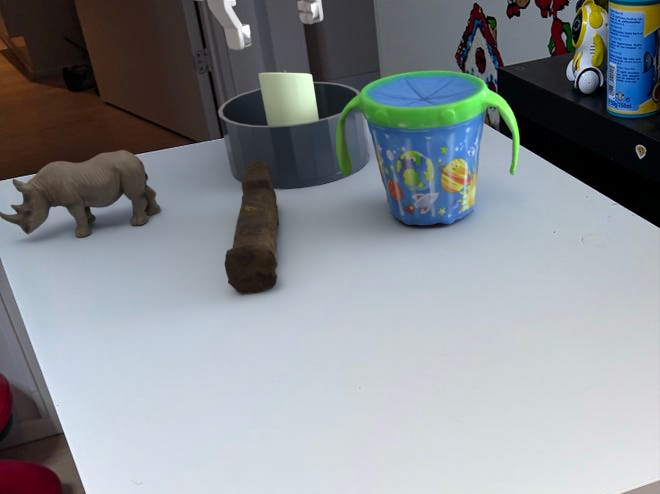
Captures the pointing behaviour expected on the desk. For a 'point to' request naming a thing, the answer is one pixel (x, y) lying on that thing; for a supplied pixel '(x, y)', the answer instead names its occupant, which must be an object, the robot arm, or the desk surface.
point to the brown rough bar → (254, 234)
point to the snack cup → (427, 141)
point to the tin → (294, 138)
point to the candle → (288, 98)
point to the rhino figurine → (84, 191)
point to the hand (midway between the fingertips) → (277, 34)
